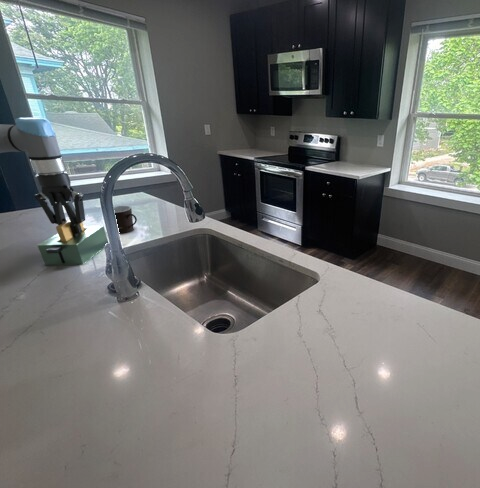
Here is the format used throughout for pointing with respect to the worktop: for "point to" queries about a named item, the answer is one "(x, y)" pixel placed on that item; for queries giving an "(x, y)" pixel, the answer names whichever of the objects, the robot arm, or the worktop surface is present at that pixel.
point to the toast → (66, 231)
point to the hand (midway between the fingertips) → (75, 242)
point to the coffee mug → (124, 219)
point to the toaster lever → (54, 250)
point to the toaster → (75, 247)
